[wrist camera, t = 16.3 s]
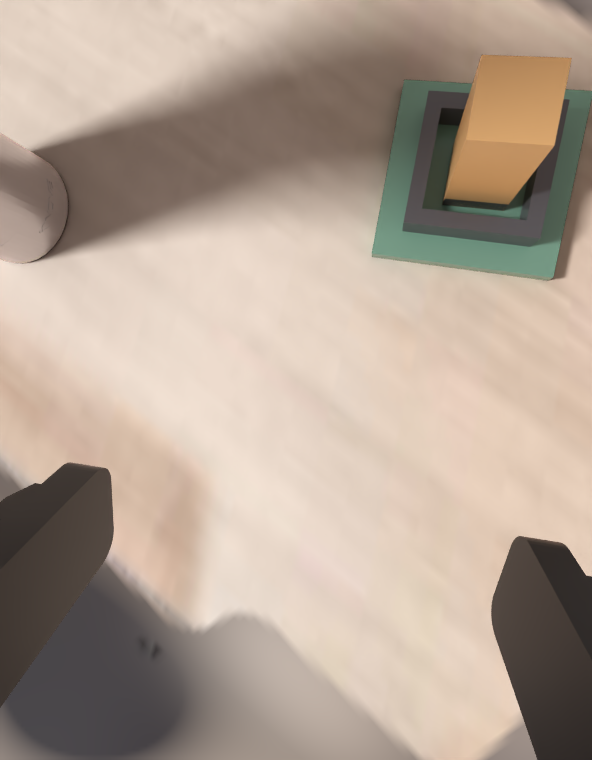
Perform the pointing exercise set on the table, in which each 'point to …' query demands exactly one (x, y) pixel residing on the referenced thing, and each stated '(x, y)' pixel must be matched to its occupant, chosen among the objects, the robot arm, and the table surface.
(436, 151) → the board
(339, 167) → the table surface
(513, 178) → the tan cardboard box
